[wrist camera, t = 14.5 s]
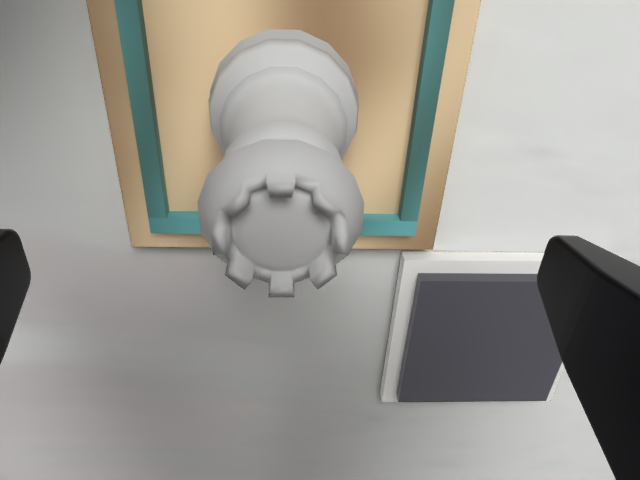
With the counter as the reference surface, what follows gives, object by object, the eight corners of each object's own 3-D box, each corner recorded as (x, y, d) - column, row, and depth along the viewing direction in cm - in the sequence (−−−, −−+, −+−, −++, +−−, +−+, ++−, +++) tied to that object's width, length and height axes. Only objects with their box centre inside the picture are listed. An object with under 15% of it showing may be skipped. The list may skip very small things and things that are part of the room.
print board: (135, 237, 19) (127, 254, 18) (71, -126, 13) (55, -128, 12) (429, 240, 20) (435, 256, 19) (493, -104, 14) (507, -104, 13)
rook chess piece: (382, 122, 17) (444, 271, 10) (266, 190, 18) (252, 365, 11) (306, -8, 15) (321, 70, 8) (180, 78, 16) (99, 213, 9)
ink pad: (380, 392, 25) (383, 411, 24) (401, 251, 20) (407, 267, 19) (545, 390, 25) (554, 409, 24) (601, 253, 21) (615, 269, 20)
